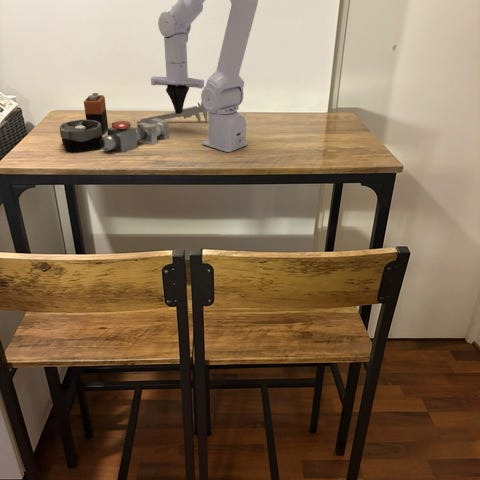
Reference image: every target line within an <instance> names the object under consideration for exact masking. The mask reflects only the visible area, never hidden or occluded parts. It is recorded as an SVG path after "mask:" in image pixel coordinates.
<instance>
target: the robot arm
mask: <svg viewBox="0 0 480 480" xmlns="http://www.w3.org/2000/svg"><path fill="white" fill-rule="evenodd" d="M229 1H230V3H231V6H230V10H229V14H228V19H227V23H226V28H225V31H224V35H223V41H222V46H221V49H220V53H219V58H218V62H217V67H216V70H215V71H214V72H213V73H212V74H211V75H210V76H209V77H208V78H207V80H206V84H205V80H204V79H199V78H193V77H189V75H188V73H189V72H188V48H187V47H188V46H187V43H188V41H189V33H190V31H191V29H192V28H191V27H192V23H193V22H194V21H195V20H196V19H197V18H198V16H199V15H201V13H202V12H203V10H204V3H205V2H206V0H178V1H176V3H175V4H174V5H172V6H171V9H170V10H168V11H162V12H161V13H160V15H159V17H158V29H159V32H160V34H161V35H162V36H163V42H164V43H163V44H164V59H165V72H166V75H165V76H152V77H150V82H151V83H150V85H151V86H166V88H165V92H166V93H167V95H168V96H169V98H170V101H171V103H172V105H173V109H174V112H175V113H176V114H181V113H182V111H183V108H184V105H185V101H186V97H187V95H188V92H189V90H190V88H195V89H196V88H197V89H201V94H200V99H201V101H202V104H203V106H204V108H205V109H206V111H207V122H208V123H207V124H208V139H207V140H205V141H202V142H201V145H204V146H206V147H210V148H213V149H216V150H220V151H222V152H223V151H224V152H226V153H230V152H233V151H236V150H238V149H241V148H243V147H245V146H248V142H247V121H246V118H245V116H243V115H242V114H240V113H239V112H238V110H239V107H240V105H241V104H242V103H243V101H244V86H245V82H244V80H243V78H242V77H241V76H240V71H241V68H242V66H243V65H242V64H243V61H244V57H245V53H246V49H247V45H248V42H249V37H250V34H251V30H252V26H253V23H254V19H255V14H256V11H257V7H258V3H259V0H229Z"/></svg>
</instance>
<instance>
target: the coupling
mask: <svg viewBox="0 0 480 480" xmlns="http://www.w3.org/2000/svg"><path fill="white" fill-rule="evenodd" d="M136 125H137V127H140V128H141V129H142V130H143V133H144V139H143V140H142V141H140V142H142V143H145V144H149V145H154V144H156V143H158V139H161V140H166V139H169V138H170V130H169V129H170V127H169V120H168V119H165V120H162V119H158V118H154V119H151V120H150V123H143V122H142V123H136Z"/></svg>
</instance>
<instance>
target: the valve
mask: <svg viewBox="0 0 480 480" xmlns="http://www.w3.org/2000/svg"><path fill="white" fill-rule="evenodd" d="M106 132H107V135H104V136H102V137H101V139H100V144H101V147H102V148H101V149H102V150H103V151H105V152H109V151H112V150H114V151H117V152H120V153H125V152H127V151H131V150H133V149H137V148H138V142H141V141H142V140H143V139H144V133H143V130H142V129H141V128H140V127H138V126H137V127H133V126H131V122H130V121H126V120H118V121H114V122H112V123H111V127H108V128H107V129H106Z"/></svg>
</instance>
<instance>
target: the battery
mask: <svg viewBox="0 0 480 480" xmlns="http://www.w3.org/2000/svg"><path fill="white" fill-rule="evenodd" d="M105 98H106V97H105V95H104V94H103V95H99V93H98V92H93V93H92V94H89V95H88V97H86V98H85V100H84V101H83V106H84V113H85V120H94V121H97V122H100V123H101V128H102V135H104V134H105V133H106V132H107V128H109V126H108V125H109V123H108V114H107V105H106V99H105Z"/></svg>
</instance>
